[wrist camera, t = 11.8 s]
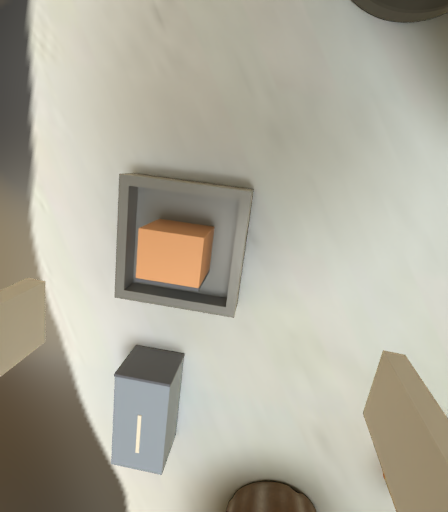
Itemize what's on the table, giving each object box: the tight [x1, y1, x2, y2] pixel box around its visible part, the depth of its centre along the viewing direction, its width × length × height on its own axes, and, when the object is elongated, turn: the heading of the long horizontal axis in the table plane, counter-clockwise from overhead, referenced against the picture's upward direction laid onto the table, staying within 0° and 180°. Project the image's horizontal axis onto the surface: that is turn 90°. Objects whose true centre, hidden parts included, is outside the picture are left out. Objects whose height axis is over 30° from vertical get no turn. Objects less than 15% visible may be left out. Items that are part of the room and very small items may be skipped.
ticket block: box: [111, 345, 184, 475], centre depth 40 cm, size 12×6×6 cm, turn 173°
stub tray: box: [115, 173, 254, 318], centre depth 36 cm, size 13×13×4 cm
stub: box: [135, 219, 215, 291], centre depth 33 cm, size 5×6×6 cm
